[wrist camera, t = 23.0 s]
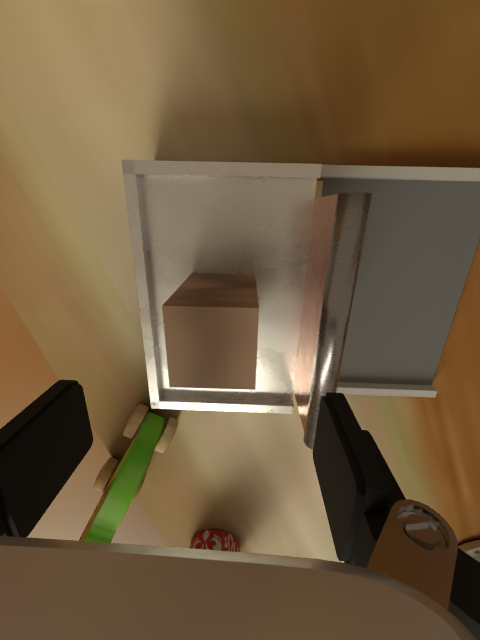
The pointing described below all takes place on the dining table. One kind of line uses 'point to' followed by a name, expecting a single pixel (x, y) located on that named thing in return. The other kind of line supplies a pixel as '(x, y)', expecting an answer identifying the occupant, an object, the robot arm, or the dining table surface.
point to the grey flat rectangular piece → (406, 272)
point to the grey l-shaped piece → (250, 271)
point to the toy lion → (127, 472)
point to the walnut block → (212, 332)
